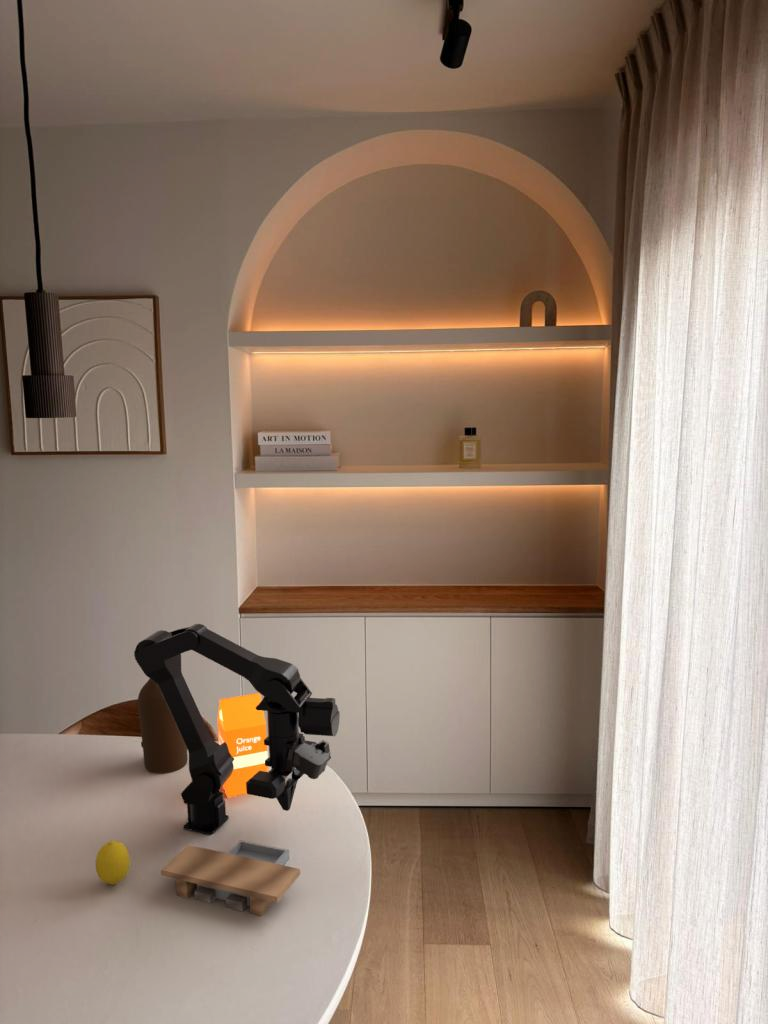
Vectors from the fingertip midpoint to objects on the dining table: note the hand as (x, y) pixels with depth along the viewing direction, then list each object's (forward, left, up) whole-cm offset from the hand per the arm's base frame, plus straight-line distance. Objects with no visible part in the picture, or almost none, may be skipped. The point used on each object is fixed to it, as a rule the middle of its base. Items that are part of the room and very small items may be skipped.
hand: (286, 809), depth 153 cm
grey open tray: (0, -15, -5) cm, 16 cm away
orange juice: (-17, +13, -5) cm, 22 cm away
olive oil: (-39, +16, -5) cm, 43 cm away
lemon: (-20, -25, -5) cm, 32 cm away
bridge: (0, -20, -4) cm, 20 cm away
